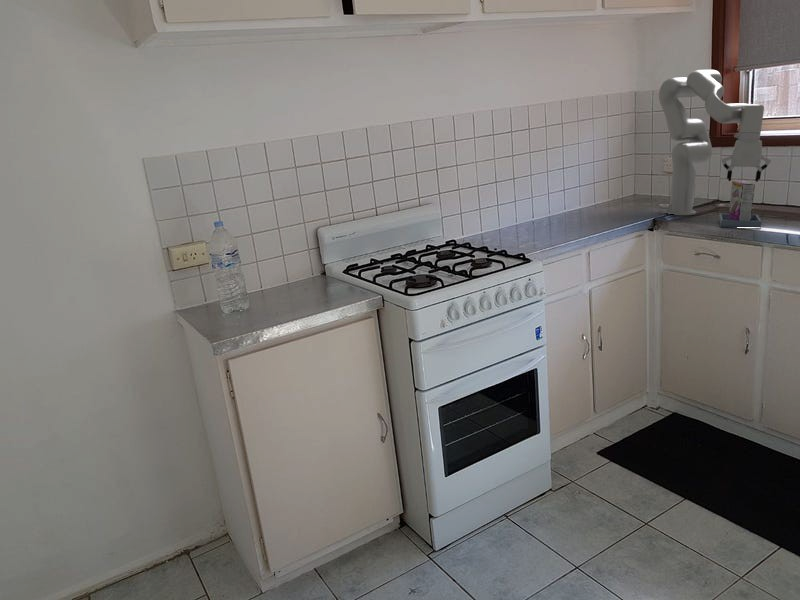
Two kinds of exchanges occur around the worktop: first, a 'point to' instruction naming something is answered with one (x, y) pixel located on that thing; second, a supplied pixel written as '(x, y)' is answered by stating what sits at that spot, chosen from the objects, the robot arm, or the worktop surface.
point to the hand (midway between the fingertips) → (742, 181)
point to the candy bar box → (741, 201)
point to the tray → (738, 222)
